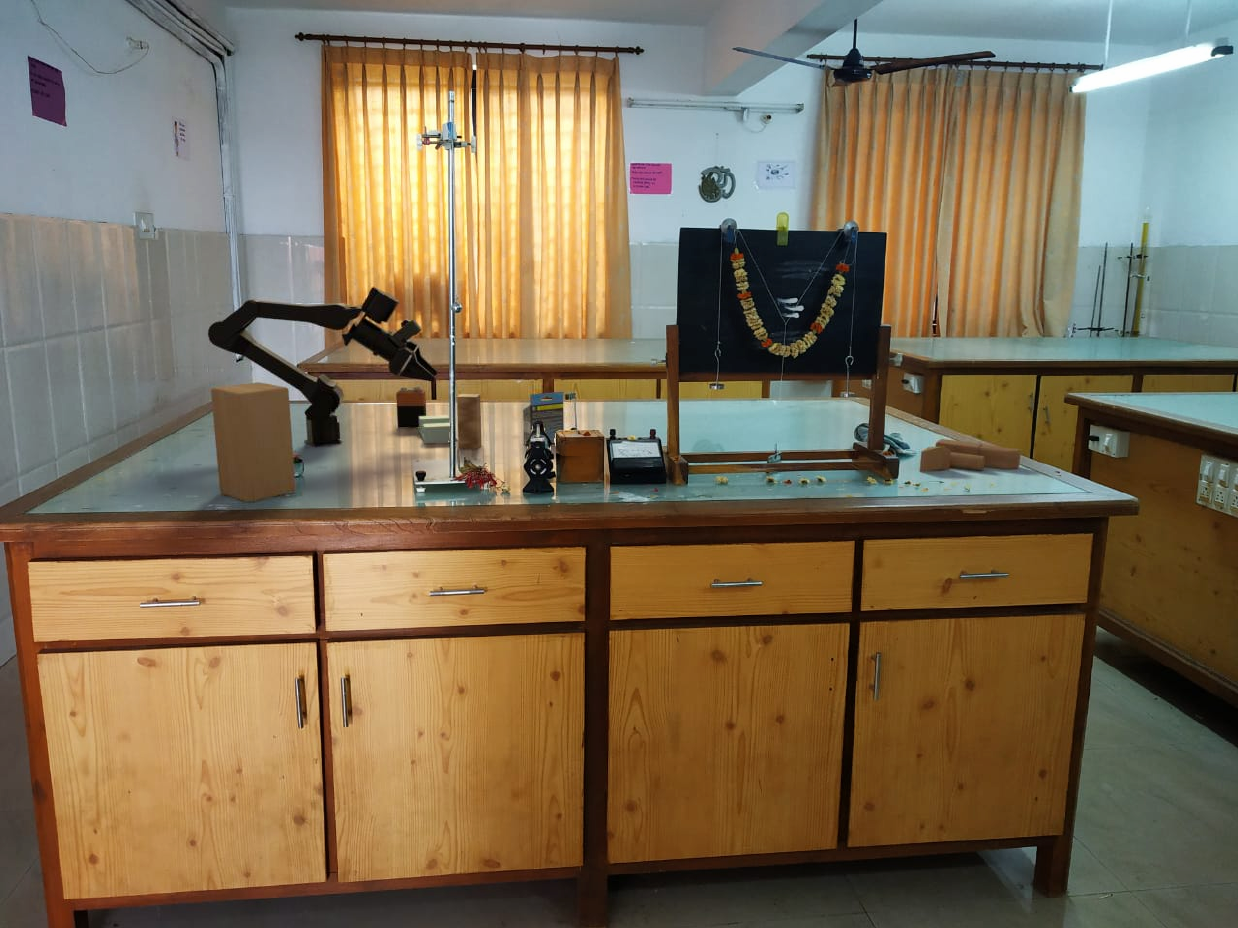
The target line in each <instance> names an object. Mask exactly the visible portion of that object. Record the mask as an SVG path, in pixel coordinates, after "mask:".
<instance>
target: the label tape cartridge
mask: <svg viewBox="0 0 1238 928" xmlns="http://www.w3.org/2000/svg"><path fill="white" fill-rule="evenodd" d="M529 396H530V398H529V400H530V402H529V405H528V406H526V407H525V408H523V411H522V415H523V416H522V417H523V418H522V419H523V421H522V423H523V426H522V427H523V429H522V430H523V445H525V443H526V442H527V440H528V438H529V437H530V435H531V430H532V426H533V422H534V421H536V420H540V421H542V422H543V423H544V428H545V432H546V434H547V435H548V437H549V438H550V440H551V441H552V443H554V438H555V433H556V431H558V430H564V431H565V428H564V427H565V426H564V424H565V423H564V419H565V418H564V391H556V392H544V393H543V392H542V393H531V394H530V395H529ZM546 398H548V400H542V399H546ZM549 398H551V399H549Z"/></svg>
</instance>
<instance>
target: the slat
mask: <svg viewBox="0 0 1238 928" xmlns="http://www.w3.org/2000/svg"><path fill="white" fill-rule="evenodd" d="M481 400H482V399H481V394H480V393H460V394H458V395H457V396H456V405H457V406H456V409H457V413H456V414H457V439H458V440H457V442H458V444H457V447H458V448H459V449H461V450H463V449H464V450H478V449H479V448H480V447H482V445H483V444H482V443H483V442H482V414H481V413H482V410H481V409H482V407H481V405H482V404H481V402H482V401H481Z"/></svg>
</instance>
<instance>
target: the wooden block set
mask: <svg viewBox="0 0 1238 928" xmlns="http://www.w3.org/2000/svg"><path fill="white" fill-rule="evenodd" d="M1021 455H1022V451H1021V449H1020V448H1012V447H1011V448H1010V447H1004V446H1003V447H1002V446H996V445H989V444H987V445H986V444H982V443H978V442H970V441H962V440H961V441H960V440H956V439H955V440H954V439H953V440H952V439H946V438H941V439H939V440H937V441H936V442H935V446H928V447H926V448H925V449H923V450H922V451H921V453H920V463H919V464H920V465H919V473H923V472H939V471H949V470H950V468H953V469H954V468H956V469H963V470H971V471H980V472H983V471H984V469H985V467H986V468H992V469H998V470H999V469H1000V470H1016V469H1018V468H1019V467H1020V464H1021Z"/></svg>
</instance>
